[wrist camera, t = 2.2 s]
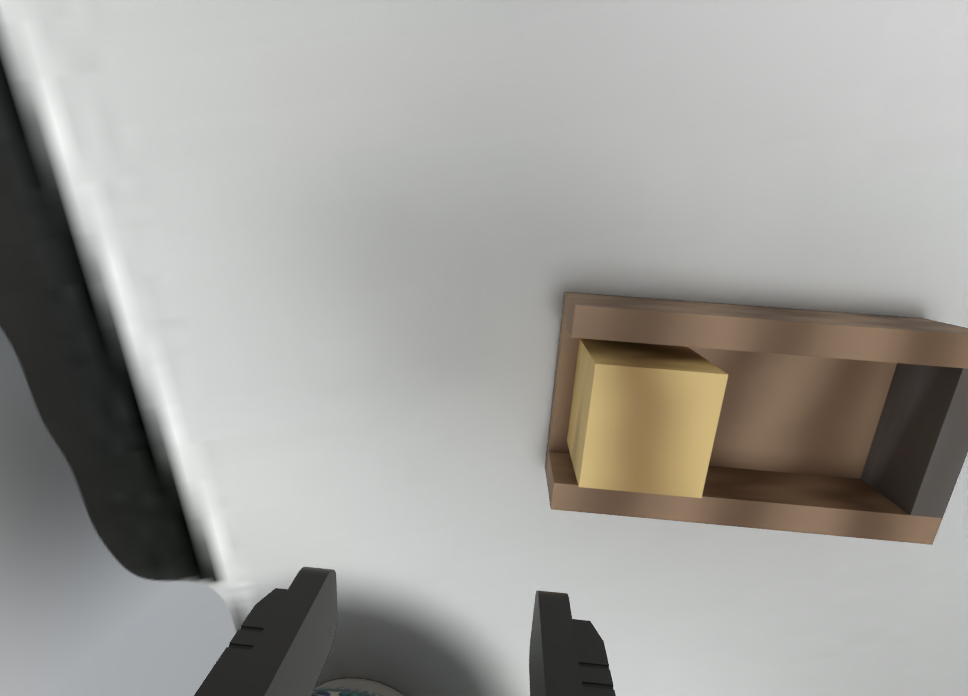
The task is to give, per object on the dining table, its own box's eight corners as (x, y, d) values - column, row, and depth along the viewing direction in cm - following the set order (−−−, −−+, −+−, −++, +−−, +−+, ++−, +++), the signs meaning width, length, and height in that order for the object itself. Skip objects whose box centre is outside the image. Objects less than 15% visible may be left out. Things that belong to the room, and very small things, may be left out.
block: (687, 346, 25) (728, 374, 21) (667, 449, 27) (701, 498, 22) (579, 338, 26) (595, 363, 21) (566, 441, 27) (578, 487, 23)
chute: (925, 318, 25) (1010, 338, 21) (867, 495, 28) (932, 544, 24) (564, 292, 26) (575, 305, 22) (544, 466, 29) (550, 508, 25)
